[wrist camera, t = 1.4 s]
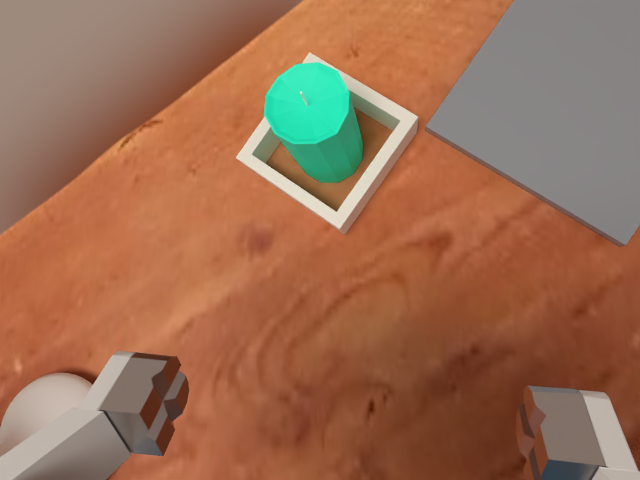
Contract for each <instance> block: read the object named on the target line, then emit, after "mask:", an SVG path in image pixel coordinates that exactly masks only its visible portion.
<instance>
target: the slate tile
mask: <svg viewBox="0 0 640 480" xmlns="http://www.w3.org/2000/svg"><path fill="white" fill-rule="evenodd" d="M425 131H427V132H428V133H430V134H432V135H433V136H435V137H437V138H438V139H440V140H442V141H443V142H445V143H447V144H448V145H450V146H452V147H453V148H455V149H457V150H458V151H460V152H462V153H464V154H465V155H467V156H469V157H470V158H472V159H474V160H475V161H477V162H479V163H480V164H482V165H484V166H485V167H487V168H489V169H490V170H492V171H494V172H495V173H497V174H499V175H500V176H502V177H504V178H505V179H507V180H509V181H510V182H512V183H514V184H515V185H517V186H519V187H520V188H522V189H524V190H525V191H527V192H529V193H531V194H532V195H534V196H536V197H537V198H539V199H541V200H542V201H544V202H546V203H547V204H549V205H551V206H552V207H554V208H556V209H557V210H559V211H561V212H562V213H564V214H566V215H567V216H569V217H571V218H572V219H574V220H576V221H577V222H579V223H581V224H582V225H584V226H586V227H587V228H589V229H591V230H592V231H594V232H596V233H598V234H599V235H601V236H603V237H604V238H606V239H608V240H609V241H611V242H613V243H614V244H616V245H618V246H619V247H620V246H624V245H626V244H627V243H628V241H629V240H630V238H631V237H632V235H633V234H634V233H635V231H636V230H637V228H638V227H639V226H640V0H514V1H513V3H512V4H511V6H510V7H509V8H508V10H507V11H506V13H505V14H504V16H503V17H502V18H501V20H500V21H499V23H498V24H497V25H496V27H495V28H494V30H493V31H492V33H491V34H490V35H489V37H488V38H487V40H486V41H485V43H484V44H483V45H482V47H481V48H480V50H479V51H478V53H477V54H476V55H475V57H474V58H473V60H472V61H471V63H470V64H469V65H468V67H467V68H466V70H465V71H464V73H463V74H462V75H461V77H460V78H459V80H458V81H457V83H456V84H455V85H454V87H453V88H452V90H451V91H450V92H449V94H448V95H447V97H446V98H445V100H444V101H443V102H442V104H441V105H440V107H439V108H438V110H437V111H436V112H435V114H434V115H433V117H432V118H431V120H430V121H429V122H428V124H427V125H426V128H425Z"/></svg>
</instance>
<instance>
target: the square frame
mask: <svg viewBox="0 0 640 480" xmlns="http://www.w3.org/2000/svg"><path fill="white" fill-rule="evenodd" d="M315 62H320V63H322V64H324V65H326V66H328V67H331V68H333V69H335V70H337V71H338V72H339V74H340V76H341V77H342V79H343V81H344V83H345V84H346V86H347V88H348V90H349V92H350V95H351V99H352V103H353V107H354V108H356V109H358V110H359V111H361V112H362V113H364V114H366V115H367V116H369V117H371V118H372V119H374V120H376V121H377V122H379V123H381V124H382V125H384V126H385V127H387V128H389V129H390V130H392V131H393V132H392V134H391V135H390V137H389V138H388V140H387V141H386V142H385V144H384V145H383V147H382V148H381V150H380V151H379V152H378V154H377V155H376V157H375V158H374V160H373V161H372V162H371V164H370V165H369V167H368V168H367V170H366V171H365V172H364V174H363V175H362V177H361V178H360V179H359V181H358V182H357V184H356V185H355V187H354V188H353V189H352V191H351V192H350V194H349V195H348V197H347V198H346V199H345V201H344V202H343V204H342V205H341V207H340V208H339V209H338V211H337V212H336V211H334V210H333V209H331V208H330V207H328V206H327V205H325V204H324V203H322V202H321V201H319V200H318V199H317V198H315V197H314V196H312V195H311V194H309V193H308V192H306V191H305V190H303V189H302V188H300V187H299V186H297V185H296V184H294V183H293V182H291V181H290V180H289V179H287V178H286V177H284V176H283V175H281V174H280V173H278V172H277V171H275V170H274V169H272V168H271V167H269V166H268V165H266V162H267V161H268V159H269V158H270V157H271V155H272V154H273V152H274V151H275V149H276V148H277V147H278V145H279V144H280V142H281V141H280V140H279V139H278V137H277V136H276V135H275V134H274V132H273V130H272V128H271V126H270V125H269V123H268V121H267V119H266V117H264V118H263V120H262V121H261V123H260V124H259V125H258V127H257V128H256V130H255V131H254V133H253V134H252V135H251V137H250V138H249V140H248V141H247V143H246V144H245V145H244V147H243V148H242V150H241V151H240V153H239V154H238V155H237V157H236V158H237V159H238V160H239V161H240V162H241V163H243V164H244V165H245V166H246V167H248V168H249V169H250V170H252V171H253V172H254V173H256V174H257V175H259V176H260V177H262V178H263V179H265V180H266V181H267V182H269V183H270V184H272V185H273V186H275V187H276V188H278V189H279V190H281V191H282V192H283V193H285V194H286V195H288V196H289V197H291V198H292V199H294V200H295V201H297V202H298V203H299V204H301V205H302V206H304V207H305V208H307V209H308V210H310V211H311V212H312V213H314V214H315V215H317V216H318V217H320V218H321V219H323V220H324V221H326V222H327V223H328V224H330V225H331V226H333V227H334V228H336V229H337V230H339V231H340V232H341V233H343V234H344V235H345V234H346V233H347V232H348V230H349V229H350V227H351V226H352V224H353V223H354V222H355V220H356V219H357V217H358V216H359V214H360V213H361V212H362V210H363V209H364V207H365V206H366V204H367V203H368V202H369V200H370V199H371V197H372V196H373V194H374V193H375V192H376V190H377V189H378V187H379V186H380V184H381V183H382V182H383V180H384V179H385V177H386V176H387V175H388V173H389V172H390V170H391V169H392V167H393V166H394V165H395V163H396V162H397V160H398V159H399V157H400V156H401V155H402V153H403V152H404V150H405V149H406V147H407V146H408V145H409V143H410V142H411V140H412V139H413V137H414V136H415V135H416V133H417V127H418V116H416V115H414V114H413V113H411V112H409V111H408V110H406V109H404V108H403V107H401V106H399V105H397V104H396V103H394V102H392V101H391V100H389V99H387V98H386V97H384V96H382V95H381V94H379V93H377V92H376V91H374V90H372V89H370V88H369V87H367V86H365V85H364V84H362V83H360V82H359V81H357V80H355V79H354V78H352V77H350V76H348V75H347V74H345V73H343V72H342V71H340V70H338V69H337V68H335V67H333V66H332V65H330V64H328V63H326V62H325V61H323V60H321V59H320V58H318V57H316V56H315V55H313V54H311V53H310V52H309V54H308V55H307V57H306V58H305V60H304V61H303V62H302V63H315Z"/></svg>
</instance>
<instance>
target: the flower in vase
mask: <svg viewBox="0 0 640 480" xmlns="http://www.w3.org/2000/svg"><path fill="white" fill-rule="evenodd" d="M92 385H93V384H91V383H90V382H89V381H87V380H86V379H84V378H82V377H80V376H77V375H74V374H70V373H52V374H48V375H45V376H42V377H40V378H38V379H36V380H34V381H33V382H32V383H30V384H29V385H28V386H26V387H25V388H24V389H23V390H22V391H20V392H19V393H18V394H17V396H16V397H15V398H14V399H13V400H12V402H11V404H10V405H9V407H8V409H7V411H6V413H5V415H4V418H3V421H2V424H1V427H0V457H1V456H3V455H4V454H6V453H7V452H9V451H10V450H11V449H13V448H14V447H16V446H17V445H19V444H20V443H22V442H23V441H25V440H26V439H27V438H29V437H30V436H32V435H33V434H35V433H36V432H38V431H39V430H40V429H42V428H43V427H45V426H46V425H48V424H49V423H51V422H52V421H54V420H55V419H56V418H58V417H59V416H61V415H62V414H64V413H65V412H67V411H68V410H69V409H71V408H78V407H79V405H80V404H81V402H82V400H83V399H84V397H85V396H86V394H87V393H88V391H89V390H90V388H91V387H92Z"/></svg>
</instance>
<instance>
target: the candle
mask: <svg viewBox="0 0 640 480" xmlns="http://www.w3.org/2000/svg"><path fill="white" fill-rule="evenodd" d="M264 116H265V117H266V119H267V121H268V123H269V125H270V126H271V128H272V130H273V132H274V134H275V135H276V136H277V137H278V139H279V140H280V141H281V143H282V144H283V145H284V146H285V148H286V149H287V150H288V151H289V153H290V154H291V155H292V156H293V158H294V159H295V160H296V161H297V163H298V164H299V165H300V166H301V168H302V169H303V170H304V171H305V173H306V174H307V175H309V176H310V177H312V178H314V179H316V180H317V181H319V182H321V183H338V182H340V181H342V180H344V179H345V178H347V177H349V176H351V175H352V174H354V172H355V171H356V169H357V167H358V166H359V164H360V162H361V161H362V159H363V140H362V137H361V133H360V129H359V125H358V122H357V118H356V114H355V110H354V107H353V103H352V99H351V95H350V92H349V90H348V88H347V86H346V84H345V83H344V81H343V79H342V77H341V76H340V74H339V72H338V71H337V70H335V69H333V68H331V67H328V66H326V65H324V64H322V63H320V62H315V63H302V64H296V65H295V66H293V67H292V68H290V69H289V70H287V71H286V72H284V73H283V74H281V75H280V76H279V77H278V78H277V79H276V81H275V82H274V84H273V85H272V87H271V88H270V90H269V91H268V93H267V94H266V100H265V109H264Z"/></svg>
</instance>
